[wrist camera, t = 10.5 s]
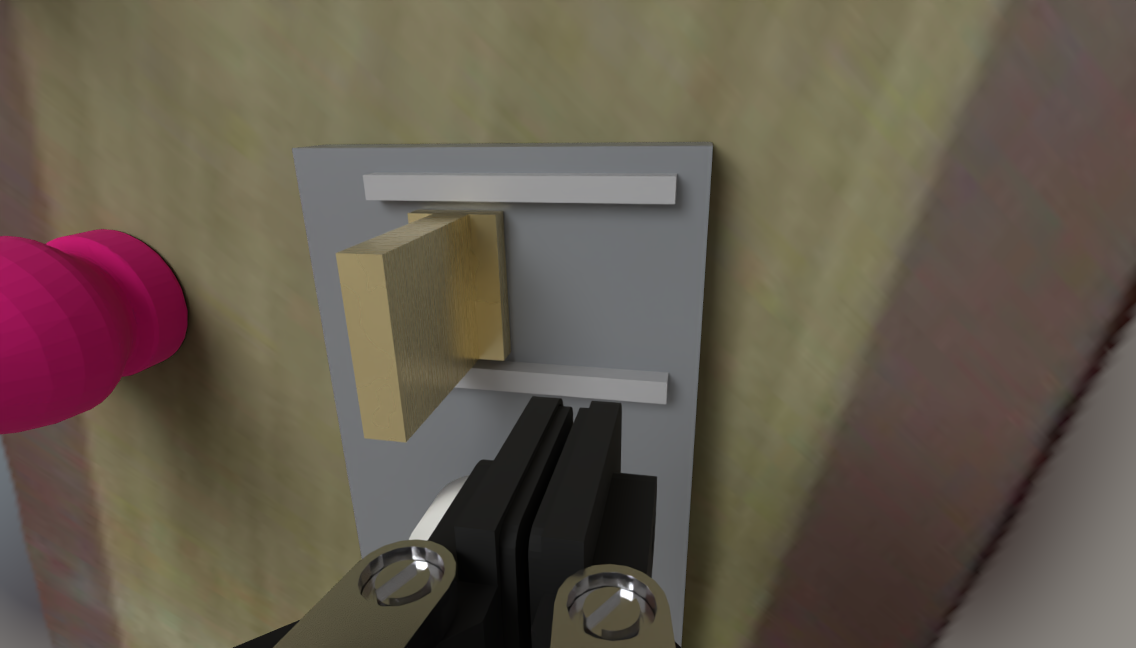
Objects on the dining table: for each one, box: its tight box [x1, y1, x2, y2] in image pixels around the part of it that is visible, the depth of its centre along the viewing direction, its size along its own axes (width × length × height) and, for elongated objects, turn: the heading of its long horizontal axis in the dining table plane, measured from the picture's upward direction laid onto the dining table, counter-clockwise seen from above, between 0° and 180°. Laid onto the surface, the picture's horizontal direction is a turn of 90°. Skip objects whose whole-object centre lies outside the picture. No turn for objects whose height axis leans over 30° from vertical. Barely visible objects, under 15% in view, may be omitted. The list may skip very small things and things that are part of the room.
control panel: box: [292, 142, 713, 647], centre depth 24 cm, size 27×14×3 cm, turn 1°
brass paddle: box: [336, 209, 511, 443], centre depth 18 cm, size 5×3×6 cm, turn 1°
